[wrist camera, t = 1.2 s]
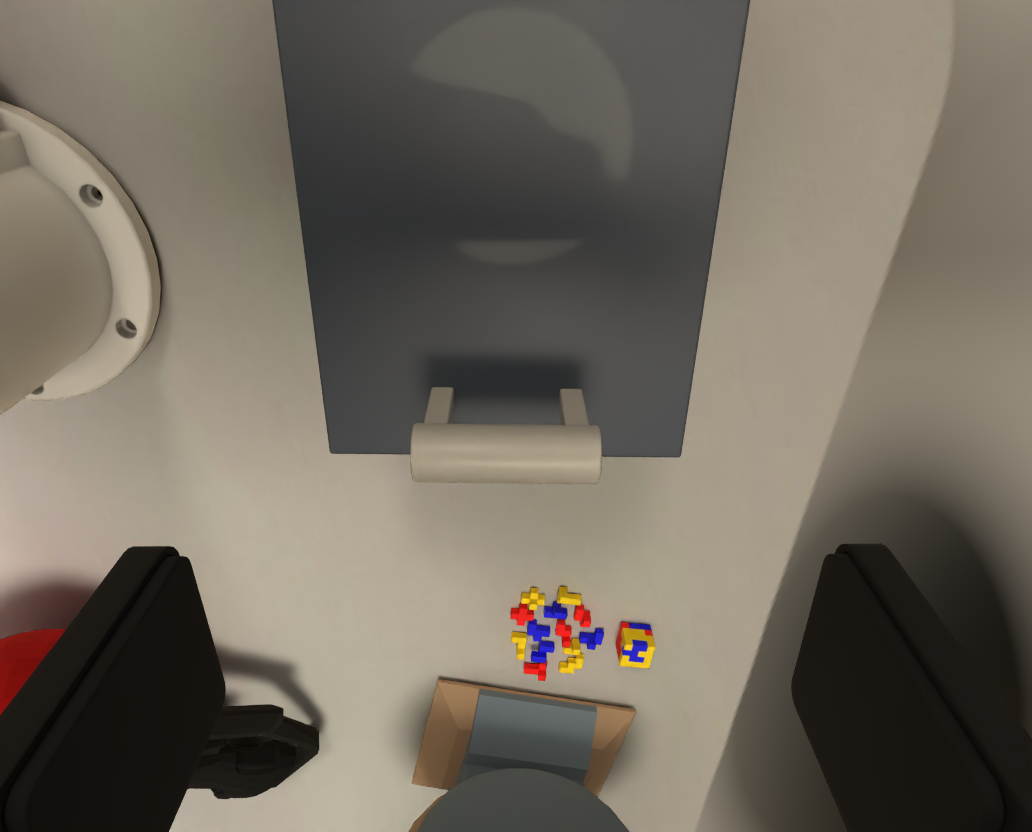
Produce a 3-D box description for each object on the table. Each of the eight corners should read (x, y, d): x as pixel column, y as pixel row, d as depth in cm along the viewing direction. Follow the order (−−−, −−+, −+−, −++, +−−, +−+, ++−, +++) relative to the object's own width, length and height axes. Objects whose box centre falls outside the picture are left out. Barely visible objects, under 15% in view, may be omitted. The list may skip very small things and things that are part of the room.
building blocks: (516, 582, 38) (516, 604, 37) (659, 596, 39) (664, 618, 37) (501, 665, 41) (500, 688, 40) (633, 677, 42) (638, 701, 40)
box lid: (676, 446, 24) (713, 538, 19) (334, 442, 24) (294, 534, 19) (752, -68, 17) (837, -105, 13) (270, -80, 17) (185, -121, 12)
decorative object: (324, 788, 32) (-235, 875, 26) (320, 880, 43) (-75, 956, 37) (319, 566, 40) (-110, 595, 34) (316, 692, 51) (-8, 730, 45)
